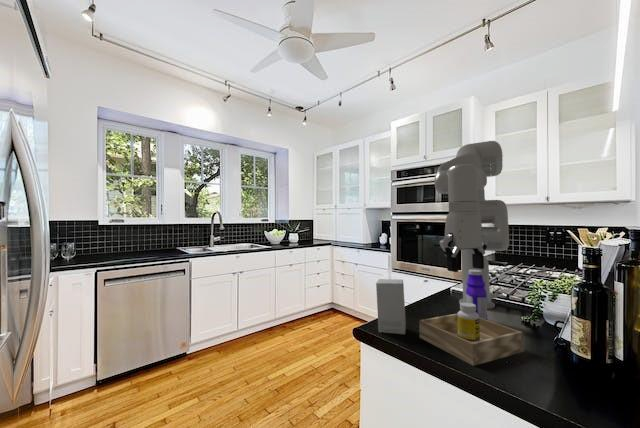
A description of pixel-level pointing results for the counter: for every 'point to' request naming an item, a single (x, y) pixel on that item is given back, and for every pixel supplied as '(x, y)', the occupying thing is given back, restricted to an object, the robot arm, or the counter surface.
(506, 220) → the robot arm
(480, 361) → the crate
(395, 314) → the skincare box
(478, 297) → the bottle
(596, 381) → the counter surface
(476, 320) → the supplement bottle
